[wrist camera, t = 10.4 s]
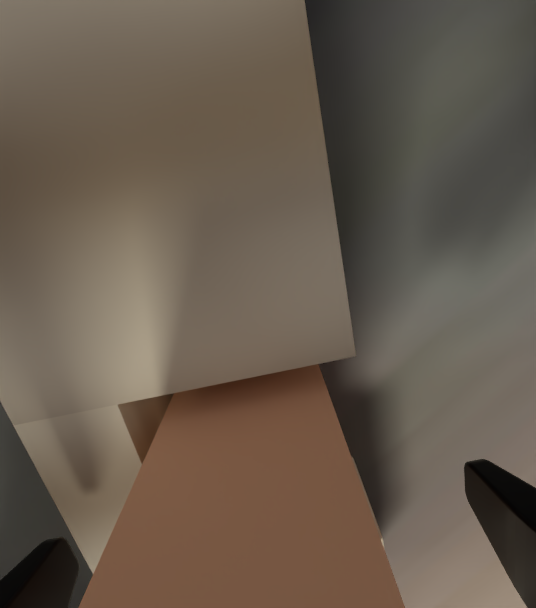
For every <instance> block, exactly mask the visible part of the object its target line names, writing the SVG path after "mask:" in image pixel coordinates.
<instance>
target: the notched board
mask: <svg viewBox="0 0 536 608" xmlns="http://www.w3.org/2000/svg"><path fill="white" fill-rule="evenodd" d="M355 356H356V351H355V344H354V337H353V331H352V324H351V317H350V310H349V303H348V296H347V289H346V282H345V275H344V269H343V262H342V255H341V248H340V241H339V234H338V227H337V220H336V214H335V207H334V200H333V193H332V186H331V179H330V172H329V165H328V158H327V152H326V145H325V138H324V131H323V124H322V117H321V110H320V103H319V97H318V90H317V83H316V76H315V69H314V62H313V55H312V48H311V41H310V35H309V28H308V21H307V14H306V7H305V0H0V402H1V404H2V405H3V407H4V409H5V411H6V413H7V415H8V417H9V418H10V420H11V422H12V424H13V426H14V428H15V430H16V432H17V433H18V435H19V437H20V439H21V441H22V443H23V445H24V446H25V448H26V450H27V452H28V454H29V456H30V458H31V460H32V461H33V463H34V465H35V467H36V469H37V471H38V473H39V474H40V476H41V478H42V480H43V482H44V484H45V486H46V488H47V489H48V491H49V493H50V495H51V497H52V499H53V501H54V502H55V504H56V506H57V508H58V510H59V512H60V514H61V515H62V517H63V519H64V521H65V523H66V525H67V527H68V529H69V530H70V532H71V534H72V536H73V538H74V540H75V542H76V543H77V545H78V547H79V549H80V551H81V553H82V555H83V557H84V558H85V560H86V562H87V564H88V566H89V568H90V570H91V571H92V573H93V574H94V571H95V569H96V567H97V565H98V562H99V560H100V558H101V556H102V553H103V551H104V549H105V547H106V544H107V542H108V540H109V538H110V535H111V533H112V531H113V529H114V526H115V524H116V522H117V520H118V517H119V515H120V513H121V511H122V509H123V506H124V504H125V502H126V500H127V497H128V495H129V493H130V491H131V488H132V486H133V484H134V482H135V479H136V477H137V475H138V473H139V470H140V468H141V466H142V464H143V461H144V459H145V457H146V455H147V452H148V450H149V448H150V446H151V444H152V441H153V439H154V437H155V435H156V432H157V430H158V428H159V426H160V423H161V421H162V419H163V417H164V414H165V412H166V410H167V408H168V405H169V403H170V401H171V399H172V396H173V393H177V392H182V391H187V390H192V389H197V388H202V387H207V386H212V385H217V384H222V383H227V382H232V381H237V380H241V379H246V378H251V377H256V376H261V375H266V374H271V373H276V372H281V371H286V370H291V369H296V368H301V367H306V366H311V365H316V364H321V363H326V362H331V361H336V360H341V359H346V358H350V357H355ZM352 460H353V463H354V466H355V469H356V471H357V474H358V477H359V480H360V483H361V485H362V488H363V491H364V494H365V497H366V499H367V502H368V505H369V508H370V511H371V514H372V516H373V519H374V522H375V525H376V528H377V530H378V533H379V536H380V539H381V542H382V544H383V538H382V535H381V532H380V530H379V527H378V524H377V521H376V519H375V516H374V513H373V510H372V508H371V505H370V502H369V499H368V497H367V494H366V491H365V488H364V486H363V483H362V480H361V477H360V475H359V472H358V469H357V466H356V464H355V461H354V458H353V457H352ZM383 547H384V544H383Z"/></svg>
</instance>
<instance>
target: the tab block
mask: <svg viewBox="0 0 536 608" xmlns="http://www.w3.org/2000/svg"><path fill="white" fill-rule="evenodd" d="M78 608H405V606H404V604H403V601H402V598H401V595H400V592H399V589H398V587H397V584H396V581H395V578H394V575H393V573H392V570H391V567H390V564H389V561H388V559H387V556H386V553H385V550H384V547H383V544H382V542H381V539H380V536H379V533H378V530H377V528H376V525H375V522H374V519H373V516H372V514H371V511H370V508H369V505H368V502H367V499H366V497H365V494H364V491H363V488H362V485H361V483H360V480H359V477H358V474H357V471H356V469H355V466H354V463H353V460H352V457H351V454H350V452H349V449H348V446H347V443H346V440H345V438H344V435H343V432H342V429H341V426H340V424H339V421H338V418H337V415H336V412H335V409H334V407H333V404H332V401H331V398H330V395H329V393H328V390H327V387H326V384H325V381H324V379H323V376H322V373H321V370H320V367H319V364H316V365H311V366H306V367H301V368H296V369H291V370H286V371H281V372H276V373H271V374H266V375H261V376H256V377H251V378H246V379H241V380H237V381H232V382H227V383H222V384H217V385H212V386H207V387H202V388H197V389H192V390H187V391H182V392H177V393H174V394H173V396H172V399H171V401H170V403H169V405H168V408H167V410H166V412H165V414H164V417H163V419H162V421H161V423H160V426H159V428H158V430H157V432H156V435H155V437H154V439H153V441H152V444H151V446H150V448H149V450H148V452H147V455H146V457H145V459H144V461H143V464H142V466H141V468H140V470H139V473H138V475H137V477H136V479H135V482H134V484H133V486H132V488H131V491H130V493H129V495H128V497H127V500H126V502H125V504H124V506H123V509H122V511H121V513H120V515H119V517H118V520H117V522H116V524H115V526H114V529H113V531H112V533H111V535H110V538H109V540H108V542H107V544H106V547H105V549H104V551H103V553H102V556H101V558H100V560H99V562H98V565H97V567H96V569H95V571H94V574H93V576H92V578H91V580H90V582H89V585H88V587H87V589H86V591H85V594H84V596H83V598H82V600H81V603H80V605H79V607H78Z"/></svg>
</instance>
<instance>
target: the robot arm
mask: <svg viewBox="0 0 536 608" xmlns="http://www.w3.org/2000/svg"><path fill="white" fill-rule="evenodd" d="M464 474H465V492H466V496H467V499H468V502H469V504H470V506H471V507H472V509H473V511H474V513H475V515H476V517H477V519H478V521H479V522H480V524H481V526H482V528H483V530H484V532H485V534H486V535H487V537H488V539H489V541H490V543H491V545H492V547H493V548H494V550H495V552H496V554H497V556H498V558H499V560H500V561H501V563H502V565H503V567H504V569H505V571H506V573H507V574H508V576H509V578H510V580H511V581H512V583H513V585H514V587H515V588H516V590H517V592H518V593H519V595H520V596H521V598H522V600H523V601H524V603H525V604H526V606H527V607H528V608H536V488H535V487H533V486H532V485H530V484H528V483H526V482H525V481H523V480H521V479H519V478H518V477H516V476H514V475H513V474H511V473H509V472H507V471H506V470H504V469H502V468H500V467H499V466H497V465H495V464H493V463H492V462H490V461H488V460H485V459H480V460H474V461H469V462H466V463H465V465H464ZM78 571H79V563H78V560H77V558H76V556H75V554H74V552H73V551H72V549H71V547H70V545H69V543H68V541H67V540H66V539H65V538H63V537H59V538H54V539H49V540H46V541H44V542H42V543H41V544H40V545H39V546H37V547H36V548H35V549H34V550H33V551H32V552H31V553H30V554H29V555H28V556H27V557H25V558H24V559H23V560H22V561H21V562H20V563H19V564H18V565H17V566H16V567H15V568H13V569H12V570H11V571H10V572H9V573H8V574H7V575H6V576H5V577H4V578H3V579H1V580H0V608H68V607H69V603H70V600H71V597H72V593H73V590H74V586H75V583H76V580H77V576H78Z"/></svg>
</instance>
